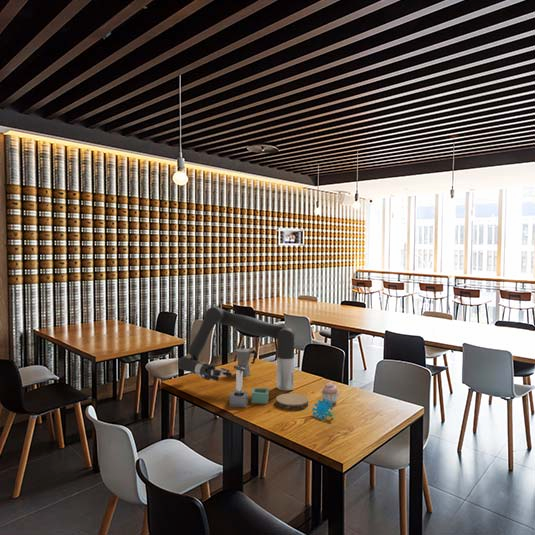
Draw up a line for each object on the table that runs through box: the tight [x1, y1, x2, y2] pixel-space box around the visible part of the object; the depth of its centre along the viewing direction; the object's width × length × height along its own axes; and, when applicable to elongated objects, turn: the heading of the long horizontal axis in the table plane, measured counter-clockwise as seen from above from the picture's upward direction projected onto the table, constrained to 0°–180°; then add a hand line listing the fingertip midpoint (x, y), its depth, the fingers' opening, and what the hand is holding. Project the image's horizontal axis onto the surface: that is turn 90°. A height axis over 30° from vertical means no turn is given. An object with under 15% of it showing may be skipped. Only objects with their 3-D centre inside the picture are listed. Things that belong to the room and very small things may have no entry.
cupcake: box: [320, 381, 340, 405], centre depth 208 cm, size 9×9×10 cm
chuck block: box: [228, 390, 249, 408], centre depth 201 cm, size 8×8×5 cm
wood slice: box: [275, 393, 309, 411], centre depth 203 cm, size 16×16×3 cm
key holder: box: [251, 387, 270, 405], centre depth 207 cm, size 8×8×5 cm
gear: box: [311, 398, 335, 420], centre depth 188 cm, size 11×6×10 cm
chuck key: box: [233, 365, 246, 396], centre depth 201 cm, size 8×3×18 cm, turn 46°
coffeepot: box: [233, 344, 258, 378], centre depth 251 cm, size 15×9×18 cm, turn 70°
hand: (224, 377), depth 209 cm, fingers open, 8 cm apart
